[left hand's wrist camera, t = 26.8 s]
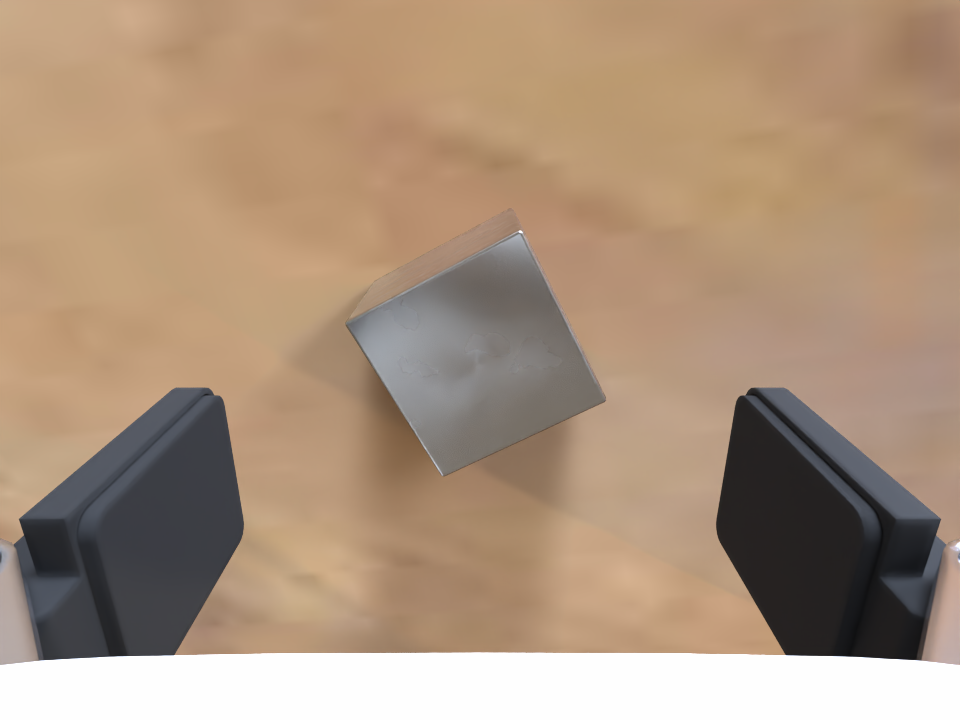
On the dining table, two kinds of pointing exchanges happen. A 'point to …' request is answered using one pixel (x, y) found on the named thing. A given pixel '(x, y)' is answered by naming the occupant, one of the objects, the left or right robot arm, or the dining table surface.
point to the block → (475, 345)
